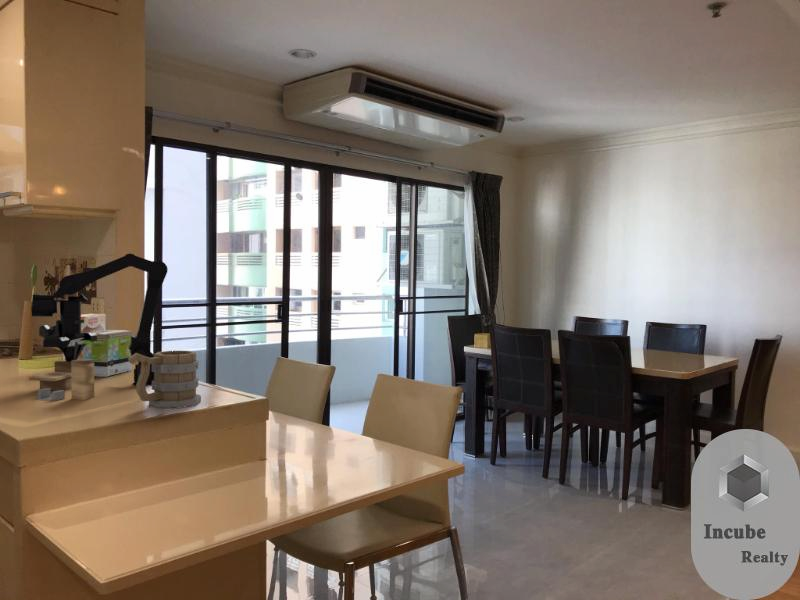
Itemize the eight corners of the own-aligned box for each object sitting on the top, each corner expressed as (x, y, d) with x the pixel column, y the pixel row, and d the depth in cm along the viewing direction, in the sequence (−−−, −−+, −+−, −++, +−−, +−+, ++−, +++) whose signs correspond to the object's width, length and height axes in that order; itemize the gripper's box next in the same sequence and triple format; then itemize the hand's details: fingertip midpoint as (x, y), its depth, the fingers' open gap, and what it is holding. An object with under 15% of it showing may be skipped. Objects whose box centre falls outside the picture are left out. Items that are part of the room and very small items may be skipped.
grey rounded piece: (53, 398, 182) (53, 387, 182) (70, 401, 179) (70, 389, 179) (31, 402, 176) (31, 390, 176) (48, 405, 173) (48, 393, 173)
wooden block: (81, 399, 181) (81, 358, 180) (94, 400, 180) (94, 359, 180) (71, 402, 177) (71, 360, 176) (84, 403, 176) (84, 361, 176)
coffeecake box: (79, 371, 229) (79, 316, 228) (61, 370, 230) (61, 315, 229) (106, 365, 243) (106, 313, 242) (90, 364, 245) (89, 313, 244)
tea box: (108, 377, 218) (108, 333, 217) (81, 376, 219) (80, 332, 219) (133, 370, 233) (133, 329, 232) (107, 369, 234) (107, 328, 234)
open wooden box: (67, 385, 202) (66, 371, 202) (91, 386, 202) (91, 372, 201) (39, 393, 189) (39, 378, 189) (65, 393, 189) (65, 379, 188)
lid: (57, 373, 198) (57, 360, 197) (82, 373, 197) (82, 361, 197) (29, 380, 185) (28, 366, 184) (55, 381, 184) (55, 367, 184)
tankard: (183, 396, 187) (183, 345, 186) (208, 403, 179) (208, 349, 178) (115, 407, 171) (115, 351, 171) (140, 415, 163) (140, 355, 163)
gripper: (64, 313, 207) (65, 362, 208) (24, 318, 189) (25, 371, 189) (97, 314, 206) (98, 363, 207) (60, 319, 187) (61, 372, 188)
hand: (71, 367), depth 198 cm, fingers closed
